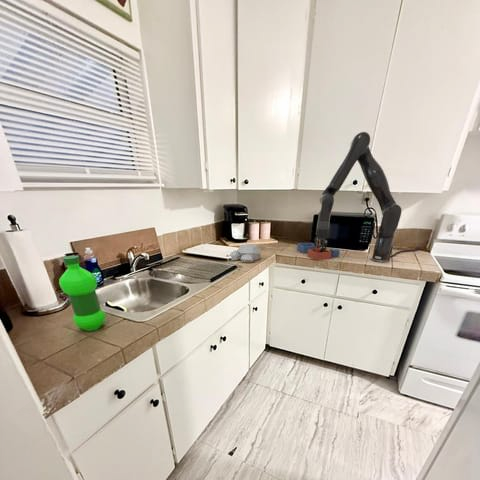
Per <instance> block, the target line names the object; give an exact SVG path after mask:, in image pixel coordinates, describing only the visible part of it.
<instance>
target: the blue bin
mask: <svg viewBox="0 0 480 480" xmlns="http://www.w3.org/2000/svg"><path fill="white" fill-rule="evenodd" d="M315 248H316V247H315V243H313V242H300V243H297V245H296V250H297V251H299V252H300V253H302V254H308V249H315Z"/></svg>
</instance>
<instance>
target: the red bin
mask: <svg viewBox="0 0 480 480" xmlns="http://www.w3.org/2000/svg"><path fill="white" fill-rule="evenodd" d="M331 253H332V252H330V250H329V249H326V250H324V252H320V253H316V252H315V249H308V253H307V255H306V256H307V257H309V258H311V259H312V260H314V261H319V260H320V261H321V260H331V259H332V257H331Z"/></svg>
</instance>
